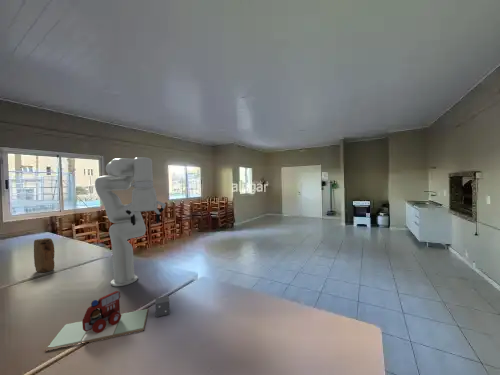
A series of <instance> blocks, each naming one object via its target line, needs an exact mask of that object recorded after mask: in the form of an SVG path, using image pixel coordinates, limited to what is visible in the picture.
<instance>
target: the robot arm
mask: <svg viewBox="0 0 500 375" xmlns="http://www.w3.org/2000/svg"><path fill="white" fill-rule="evenodd" d="M105 172H106V173H107V174H108V175H102V176H101V175H100V176H99V177H97V178H96V179H95V181H94V188H95V191H96V194H97V196H98V197H99V199H100V200H101V201H102V202H101V203H103V206H104V209H105V213H106V217H107V219H108V221H109V222H110V223H113V224H112V225H111V226H109V229H108V235H109V238H110V242H111V243H110V244H111V252H112V267H113V269H112V270H113V272H112V273H113V279H112V280H111V281H110V285H111V286H112V287H123V286H124V287H125V286H128V285H131V284H134V283H135V282H136V281H137V280H138V275H136V274H135V266H134V264H135V262H134V250H133V249H134V248H133V245H132V244H131V243H130V242H129V241H128V240H131V239H134V238H140V237H143V236H144V235H145V234H146V231H147V228H146V224H145V221H144V218H143V215H142V212H152V211H153V212H155V213H156V215H155V220H156V224H159V222H160V221H161V213H162V212H163V211H164V209H165V208H166V205H167V204H166V203H165V202H162V201H159V200H158V198H157V190H156V188H155V187H154V176H153V160H152V158H150V157H144V156H143V157H142V156H141V157H140V156H139V157H134V158H127V157H126V158H123V157H122V158H121V157H120V158H113V159H111V161H110V162H108V163H107V164H106V166H105ZM131 187H133V189H132V191H131V202H129V203H127V204H123V202H122V200H121V198H120V197H119V195H117V193H115V192H113V191H126V190H129V189H130V188H131ZM158 205H160V206H161V207H160V209H158Z"/></svg>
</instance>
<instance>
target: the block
mask: <svg viewBox="0 0 500 375" xmlns="http://www.w3.org/2000/svg"><path fill="white" fill-rule="evenodd" d="M54 244H55V243H54V241H53V240H52V238H50V237H49V238H48V237H45V238H39V239H37V238H36V239H35V240H33V259H34V260H33V261H34V262H33V264H34V267H35V268H34V269H35V272H37V273H48V272H51V271H53V270H55V245H54Z"/></svg>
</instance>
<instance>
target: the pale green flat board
mask: <svg viewBox="0 0 500 375" xmlns="http://www.w3.org/2000/svg"><path fill="white" fill-rule="evenodd" d="M148 313H149V308H145V309H139V310H134V311H130V312H128V311H127V312H124V313H120V314H121V319H120V321H119V322H118V323H117V324H115V325H111V324H109V322H108V321H106V327H105V329H104V330H103V331H101V332H99V333H95V332H94V331H93V330H92V329H91V330H89V331H84V330H83V324H82V321H83V320H82V321H76V322H75V321H74V322H70V323H66V324H64V326H63V327H62V328H61V330H60V331H59V332H58V333H57V335H56V336H54V338H53V340H52V341H51V342H50V343H49V344H50V345H49V344H48V346H47V347H56V346H68V345H73V344H78V343H82V342H89V343H93V341H94V342H98V340H99V341H102V339H103V340H108V339H112V338H117V337H121V336H120V335H122V336H126V335H125V334H127V335H130V334H129V333H131V334H134V333H133V332H136V333H140V332H144V331H145V327H146V322H147V317H148ZM143 330H144V331H143ZM139 331H140V332H139ZM107 338H108V339H107Z"/></svg>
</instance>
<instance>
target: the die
mask: <svg viewBox="0 0 500 375" xmlns="http://www.w3.org/2000/svg"><path fill="white" fill-rule="evenodd" d="M170 304H171V303H170V295H167V296H162V297H161V296H160V297H155V318H158V317H163V316H167V315H170V314H171V310H170V307H171V306H170Z"/></svg>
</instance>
